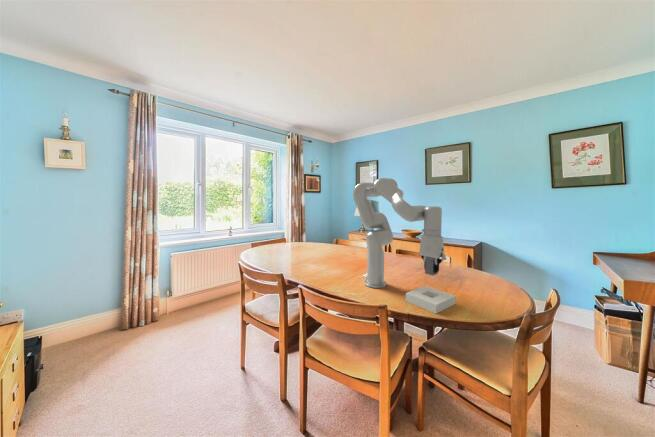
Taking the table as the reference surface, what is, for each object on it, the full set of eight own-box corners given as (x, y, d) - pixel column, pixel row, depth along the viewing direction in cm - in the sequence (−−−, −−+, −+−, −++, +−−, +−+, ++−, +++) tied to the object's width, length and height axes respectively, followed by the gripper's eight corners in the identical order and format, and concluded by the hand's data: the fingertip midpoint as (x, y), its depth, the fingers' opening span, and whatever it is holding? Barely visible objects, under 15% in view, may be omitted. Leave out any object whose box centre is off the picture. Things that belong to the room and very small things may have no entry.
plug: (425, 273, 119) (425, 256, 118) (429, 271, 121) (430, 255, 120) (432, 275, 115) (433, 258, 115) (437, 273, 118) (438, 257, 117)
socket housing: (405, 300, 122) (405, 293, 121) (425, 293, 131) (425, 285, 130) (435, 313, 109) (436, 304, 108) (455, 304, 118) (455, 295, 117)
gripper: (412, 231, 121) (411, 268, 123) (445, 235, 107) (443, 277, 109) (421, 230, 125) (420, 265, 127) (454, 234, 112) (452, 273, 113)
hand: (431, 270), depth 118 cm, fingers closed on plug, 4 cm apart
